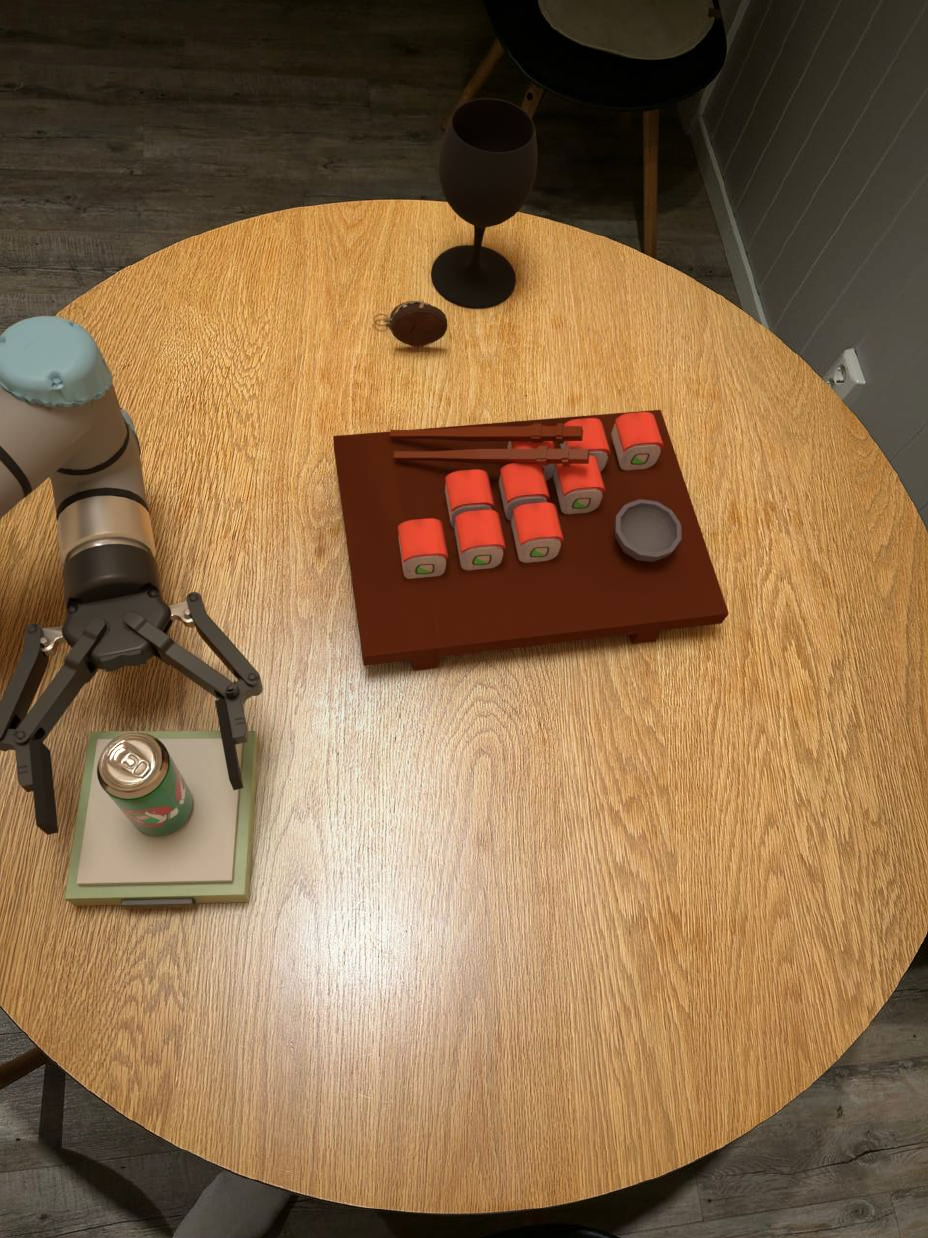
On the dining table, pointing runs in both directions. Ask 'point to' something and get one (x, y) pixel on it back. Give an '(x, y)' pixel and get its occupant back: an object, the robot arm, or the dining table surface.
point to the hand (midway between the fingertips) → (144, 806)
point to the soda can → (145, 783)
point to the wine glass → (483, 195)
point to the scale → (179, 862)
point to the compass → (416, 322)
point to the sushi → (520, 536)
